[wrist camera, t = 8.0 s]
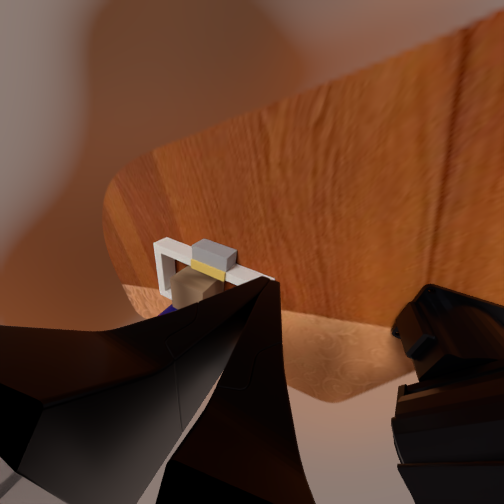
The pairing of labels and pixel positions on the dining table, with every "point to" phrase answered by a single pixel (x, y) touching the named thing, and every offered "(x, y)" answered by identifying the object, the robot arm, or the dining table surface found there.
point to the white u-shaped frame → (199, 262)
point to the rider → (193, 287)
